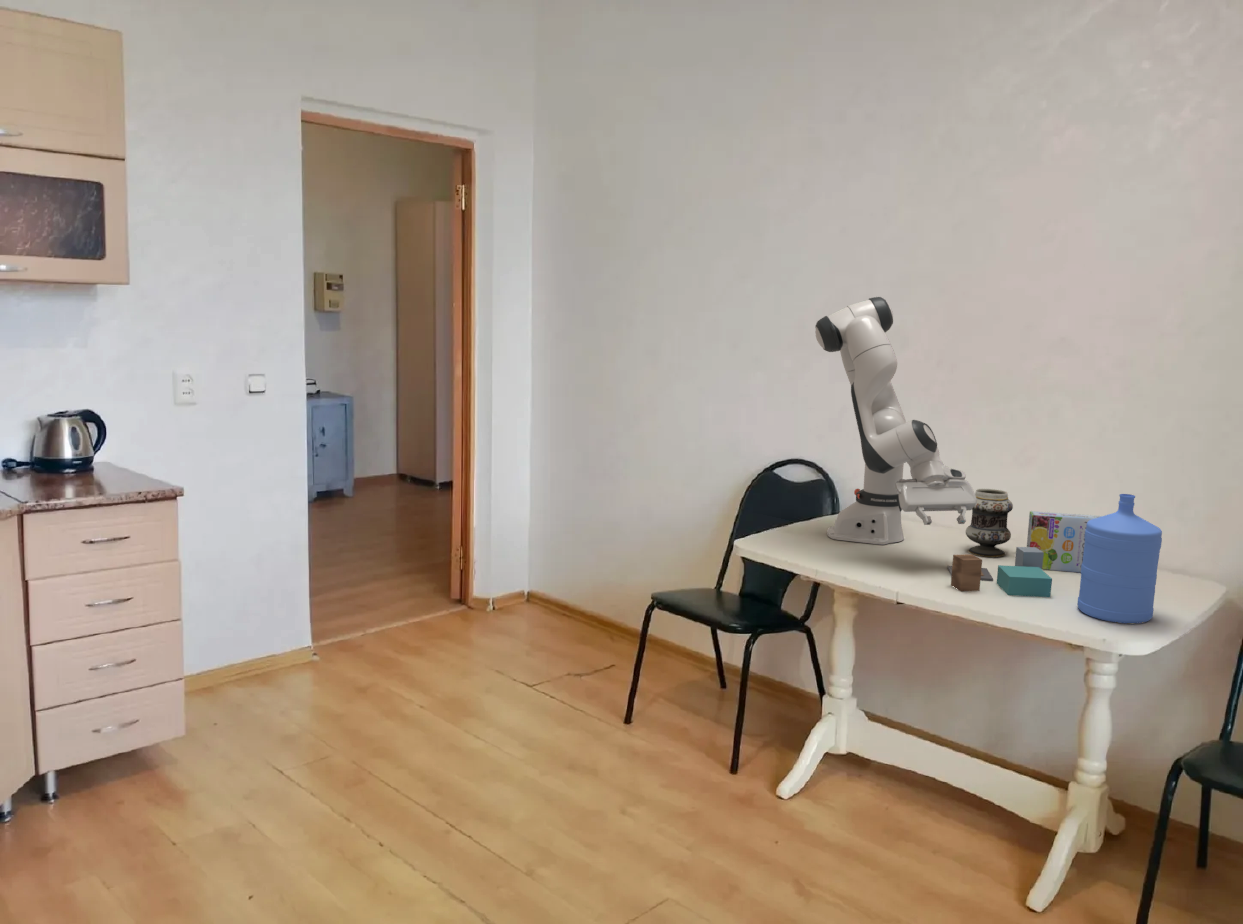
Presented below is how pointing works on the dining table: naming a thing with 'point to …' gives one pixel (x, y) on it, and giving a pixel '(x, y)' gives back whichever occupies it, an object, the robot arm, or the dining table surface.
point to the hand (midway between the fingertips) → (945, 523)
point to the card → (984, 574)
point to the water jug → (1120, 566)
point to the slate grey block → (1029, 557)
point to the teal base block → (1024, 581)
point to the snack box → (1059, 539)
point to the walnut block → (966, 572)
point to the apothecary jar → (989, 522)
